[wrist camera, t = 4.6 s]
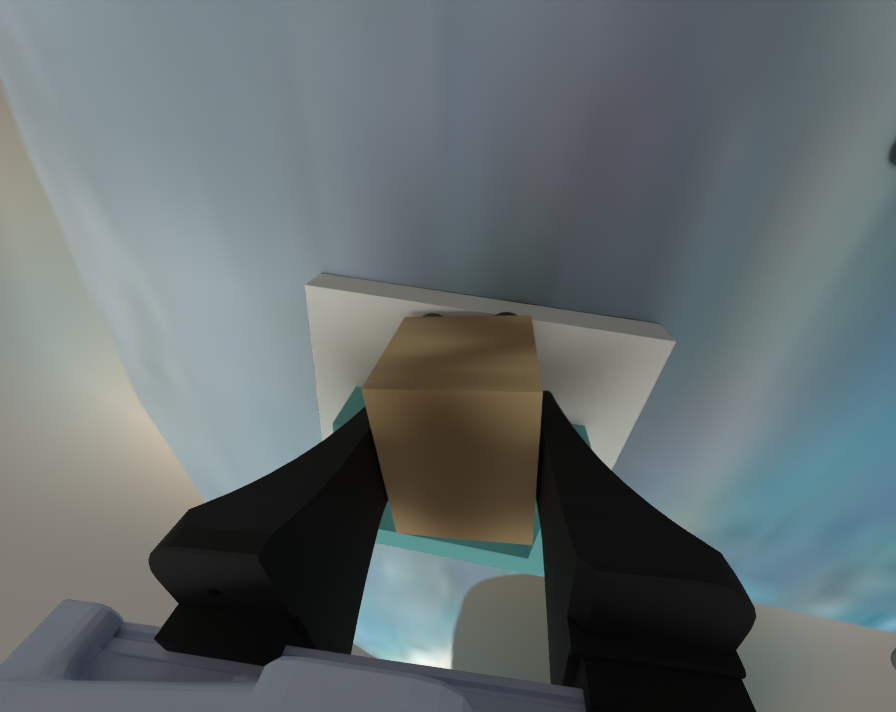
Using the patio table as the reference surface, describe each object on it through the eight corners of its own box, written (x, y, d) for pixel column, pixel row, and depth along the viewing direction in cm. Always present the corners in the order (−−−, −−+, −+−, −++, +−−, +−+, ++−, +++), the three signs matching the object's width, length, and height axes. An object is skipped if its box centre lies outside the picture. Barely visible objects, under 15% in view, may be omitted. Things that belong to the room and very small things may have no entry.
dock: (660, 324, 14) (711, 380, 10) (573, 511, 20) (587, 585, 17) (321, 273, 15) (267, 310, 11) (338, 467, 21) (306, 528, 18)
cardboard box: (529, 306, 13) (542, 392, 8) (524, 431, 16) (532, 545, 11) (409, 308, 13) (361, 388, 9) (426, 427, 16) (396, 533, 12)
